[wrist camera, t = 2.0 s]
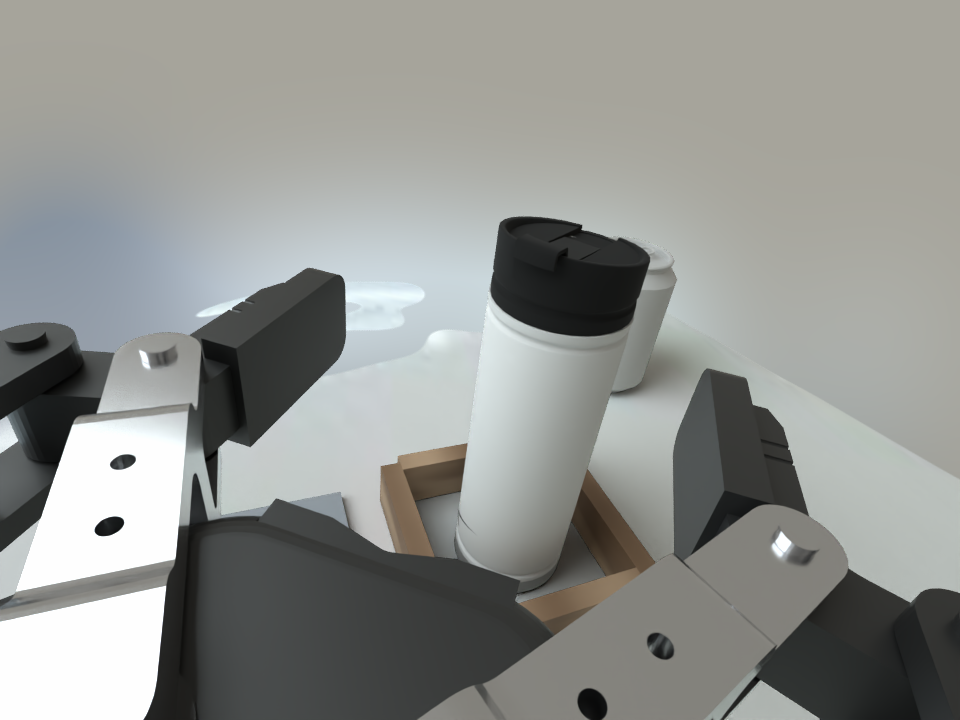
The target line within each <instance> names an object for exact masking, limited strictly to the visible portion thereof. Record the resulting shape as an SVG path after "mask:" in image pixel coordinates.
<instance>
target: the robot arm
mask: <svg viewBox="0 0 960 720" xmlns="http://www.w3.org/2000/svg"><path fill="white" fill-rule="evenodd" d="M345 338H346V312H345V283H344V279H343V278H342V276H340V275H336V274H333V273H329V272H325V271H321V270H317V269H313V268H307V269H305V270H303V271H302V272H300V273H299V274H297V275H296V276H294V277H293V278H291V279H290V280H288V281H287V282H286V283H280V284H277V285H274V286H271V287H268V288H264V289H261V290H259V291H258V292H257V293H255V294H253V295H252V296H250V297H249V298H247V299H245V302H241V303H239V304H238V305H236V306H234V307H233V308H232V311H231V310H228V311H227V312H225V313H223V314H222V315H220V316H219V317H217V318H216V319H214V320H213V321H211V322H209V323H208V324H207V325H205V326H203V327H202V328H200V329H198V330H197V331H195V332H194V333H192V334H191V335H185V334H181V333H171V332H168V333H155V334H149V335H145V336H141V337H138V338H135V339H133V340H131V341H129V342H127V343H126V344H124V345H122V346H121V347H120V348H119V349H118V350H117V351H116V352H115V353H108V352H93V351H81V350H80V347H79V344H78V341H77V338H76V335H75V332H74V331H73V330H72V329H71V328H69V327H68V326H65V325H61V324H56V323H31V324H24V325H19V326H15V327H11V328H8V329H5V330H2V331H0V420H1V419H2V418H4V417H5V416H7V417H8V419H9V421H10V423H11V425H12V428H13V430H14V432H15V434H16V436H17V439H18V442H17V443H15V444H14V445H12V446H11V447H9V448H8V449H7V450H5V451H4V452H2V453H1V454H0V552H1V551H2V550H3V549H5V548H6V547H7V546H8V545H9V544H11V543H12V542H13V541H14V540H15V539H17V538H18V537H19V536H20V535H21V534H22V533H24V532H25V531H26V530H27V529H28V528H30V527H31V526H32V525H33V524H34V523H36V522H37V521H38V520H39V519H40V518H41V520H40V523H39V526H38V529H37V532H36V535H35V538H34V541H33V544H32V547H31V550H30V553H29V555H28V558H27V561H26V564H25V567H24V570H23V573H22V576H21V579H20V582H19V585H18V588H17V590H16V593H15V594H14V595H11V596H9V597H6V598H4V599H1V600H0V720H726V719H727V718H728V717H729V716H730V715H731V714H732V713H733V712H734V711H735V710H736V708H737V707H738V706H739V705H740V704H741V703H742V702H743V701H744V700H745V699H746V697H747V696H748V695H749V694H750V693H751V692H752V691H753V690H754V689H755V688H756V687H757V685H758V684H759V683H760V682H761V681H763V682H765V683H766V684H768V685H769V686H771V687H772V688H774V689H775V690H777V691H778V692H780V693H782V694H783V695H785V696H786V697H788V698H789V699H791V700H792V701H794V702H795V703H797V704H798V705H800V706H801V707H803V708H805V709H806V710H808V711H809V712H811V713H812V714H814V715H815V716H817V717H818V718H820V720H960V593H958V592H954V591H950V590H946V589H928V590H925V591H923V592H921V593H920V594H919V595H918V596H917V597H916V598H915V599H914V600H913V601H912V602H911V603H910V602H908V601H906V600H904V599H902V598H900V597H898V596H896V595H895V594H893V593H891V592H889V591H887V590H885V589H883V588H881V587H879V586H878V585H876V584H874V583H872V582H870V581H868V580H866V579H864V578H863V577H861V576H859V575H858V574H856V573H854V572H853V571H851V570H850V569H849V568H848V559H847V556H846V553H845V551H844V549H843V548H842V546H841V545H840V543H839V542H838V540H837V539H836V538H835V537H834V536H833V535H832V534H831V533H830V532H829V531H828V530H827V529H826V528H825V527H824V526H822V525H821V524H820V523H818V522H817V521H815V520H814V519H812V518H811V517H809V515H808V511H807V508H806V504H805V501H804V497H803V494H802V490H801V487H800V484H799V480H798V477H797V473H796V470H795V466H793V465H792V464H793V460H792V456H791V453H790V450H788V447H789V446H788V442H787V439H786V435H785V432H784V429H783V427H782V426H781V424H780V423H779V422H778V421H777V420H776V418H775V417H774V416H773V415H772V414H771V413H770V411H769V410H768V409H766V408H762V407H758V406H755V405H753V404H752V400H751V395H750V391H749V387H748V382H747V379H746V378H744V377H740V376H736V375H732V374H728V373H724V372H720V371H716V370H712V369H706V370H705V371H704V372H703V374H702V376H701V378H700V380H699V382H698V385H697V387H696V389H695V392H694V394H693V397H692V399H691V401H690V404H689V406H688V408H687V411H686V413H685V415H684V418H683V420H682V423H681V425H680V427H679V430H678V433H677V437H676V440H675V445H674V451H673V493H674V554H670V555H668V556H666V557H664V558H662V559H661V560H659V561H658V562H657V563H655V564H654V565H652V566H651V567H650V568H648V569H647V570H645V571H644V572H643V573H641V574H640V575H638V576H637V577H636V578H634V579H633V580H631V581H630V582H629V583H627V584H626V585H624V586H623V587H622V588H620V589H619V590H617V591H616V592H615V593H613V594H612V595H610V596H609V597H608V598H606V599H605V600H603V601H602V602H601V603H599V604H598V605H596V606H595V607H594V608H592V609H591V610H589V611H588V612H587V613H585V614H584V615H583V616H581V617H580V618H578V619H577V620H576V621H574V622H573V623H571V624H570V625H569V626H567V627H566V628H564V629H563V630H562V631H560V632H559V633H557V634H556V635H555V634H554V633H553V632H552V631H551V630H550V629H549V628H548V627H547V626H546V625H545V624H544V623H543V622H542V621H541V620H540V619H539V618H538V617H536V616H535V615H534V614H533V613H531V612H530V611H529V610H528V609H526V608H525V607H523V606H522V605H520V604H519V603H517V602H516V601H515V599H516V595H517V591H518V587H519V584H520V580H517V579H514V578H511V577H508V576H505V575H502V574H499V573H496V572H493V571H490V570H487V569H485V568H482V567H479V566H476V565H473V564H470V563H467V562H464V561H461V560H458V559H451V558H441V557H431V556H421V555H411V554H401V553H392V552H387V551H384V550H382V549H380V548H379V547H377V546H376V545H374V544H373V543H371V542H370V541H368V540H367V539H365V538H363V537H362V536H360V535H359V534H357V533H356V532H354V531H353V530H351V529H350V528H348V527H347V526H345V525H344V524H342V523H340V522H339V521H337V520H336V519H334V518H333V517H330V516H327V515H324V514H321V513H318V512H315V511H312V510H309V509H306V508H303V507H300V506H297V505H294V504H291V503H288V502H285V501H282V500H280V499H277V498H276V499H275V501H274V502H273V503H272V504H271V505H270V507H269V508H268V509H267V510H266V511H265V513H264V514H263V515H262V516H234V517H224V518H221V472H222V457H221V451H220V446H221V445H222V444H223V443H224V442H225V441H226V440H230V441H233V442H236V443H239V444H243V445H246V446H249V447H251V446H252V445H253V444H254V443H255V442H256V441H257V440H258V439H259V438H260V437H261V436H262V435H263V434H264V433H265V432H266V431H267V430H268V429H269V428H270V427H271V426H272V425H273V424H274V423H275V422H276V421H277V420H278V419H279V418H280V417H281V416H282V415H283V414H284V413H285V412H286V411H287V410H288V409H289V408H290V407H291V406H292V405H293V404H294V403H295V402H296V401H297V400H298V399H299V398H300V397H301V396H302V395H303V394H304V393H305V392H306V391H307V390H308V389H309V388H310V387H311V386H312V385H313V384H314V383H315V382H316V381H317V380H318V379H319V378H320V377H321V376H322V375H323V374H324V373H325V372H326V371H327V370H328V369H329V368H330V367H331V366H332V365H333V364H334V363H335V362H336V361H337V360H338V358H339V357H340V355H341V353H342V351H343V348H344V344H345Z"/></svg>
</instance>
